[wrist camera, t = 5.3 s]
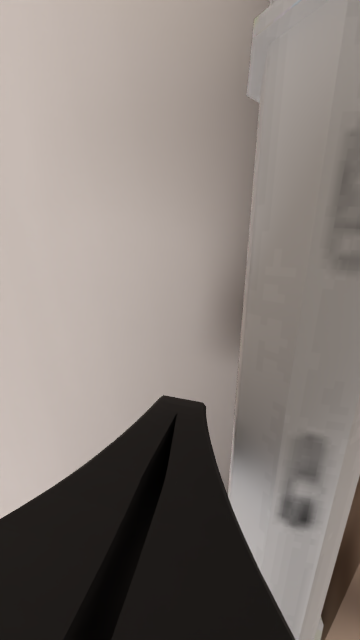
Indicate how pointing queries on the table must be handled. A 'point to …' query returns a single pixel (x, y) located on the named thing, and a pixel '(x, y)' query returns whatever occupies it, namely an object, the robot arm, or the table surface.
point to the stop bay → (345, 583)
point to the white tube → (301, 305)
